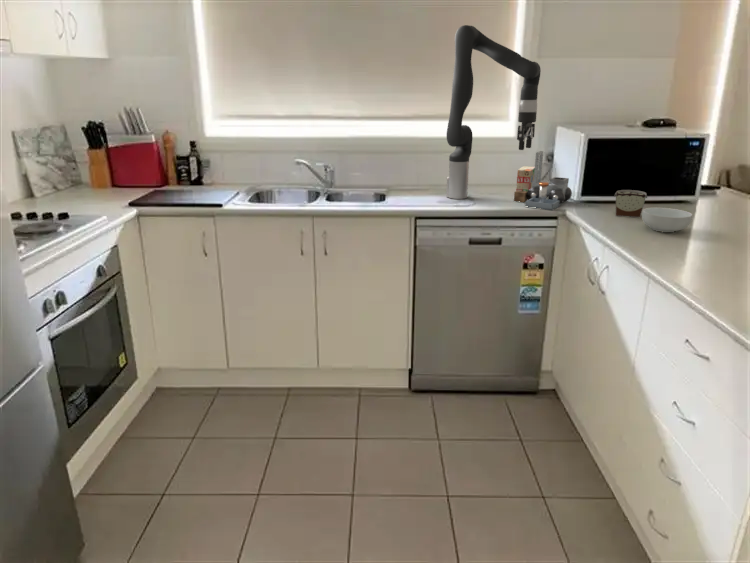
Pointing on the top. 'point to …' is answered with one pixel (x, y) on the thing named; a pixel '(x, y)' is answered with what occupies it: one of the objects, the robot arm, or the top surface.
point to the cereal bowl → (666, 219)
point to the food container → (629, 202)
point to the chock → (520, 196)
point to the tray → (542, 204)
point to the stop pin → (543, 192)
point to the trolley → (556, 185)
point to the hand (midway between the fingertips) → (524, 148)
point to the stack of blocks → (525, 178)
